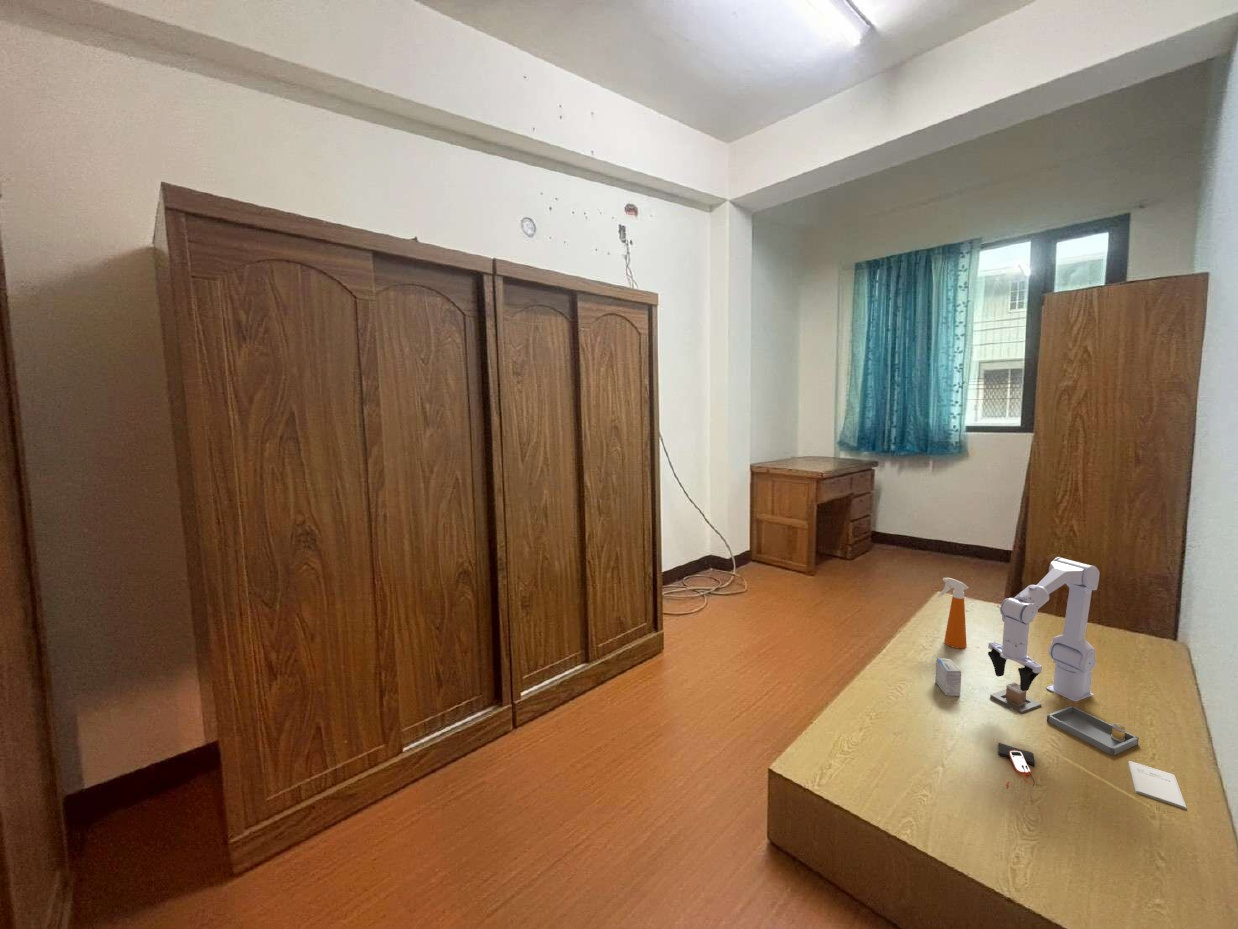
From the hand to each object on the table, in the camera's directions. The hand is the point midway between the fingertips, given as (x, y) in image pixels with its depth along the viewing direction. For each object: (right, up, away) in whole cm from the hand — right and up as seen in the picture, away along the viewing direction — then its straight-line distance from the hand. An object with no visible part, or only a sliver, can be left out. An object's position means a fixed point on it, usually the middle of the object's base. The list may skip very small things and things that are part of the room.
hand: (1011, 682), depth 148 cm
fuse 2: (+20, -11, -11) cm, 25 cm away
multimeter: (-14, -15, -22) cm, 29 cm away
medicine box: (-10, -9, +14) cm, 19 cm away
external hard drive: (+14, -14, -27) cm, 33 cm away
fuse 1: (+6, -9, +6) cm, 13 cm away
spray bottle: (+10, -4, +42) cm, 44 cm away
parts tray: (+16, -11, -8) cm, 21 cm away
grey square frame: (+6, -9, +6) cm, 13 cm away
